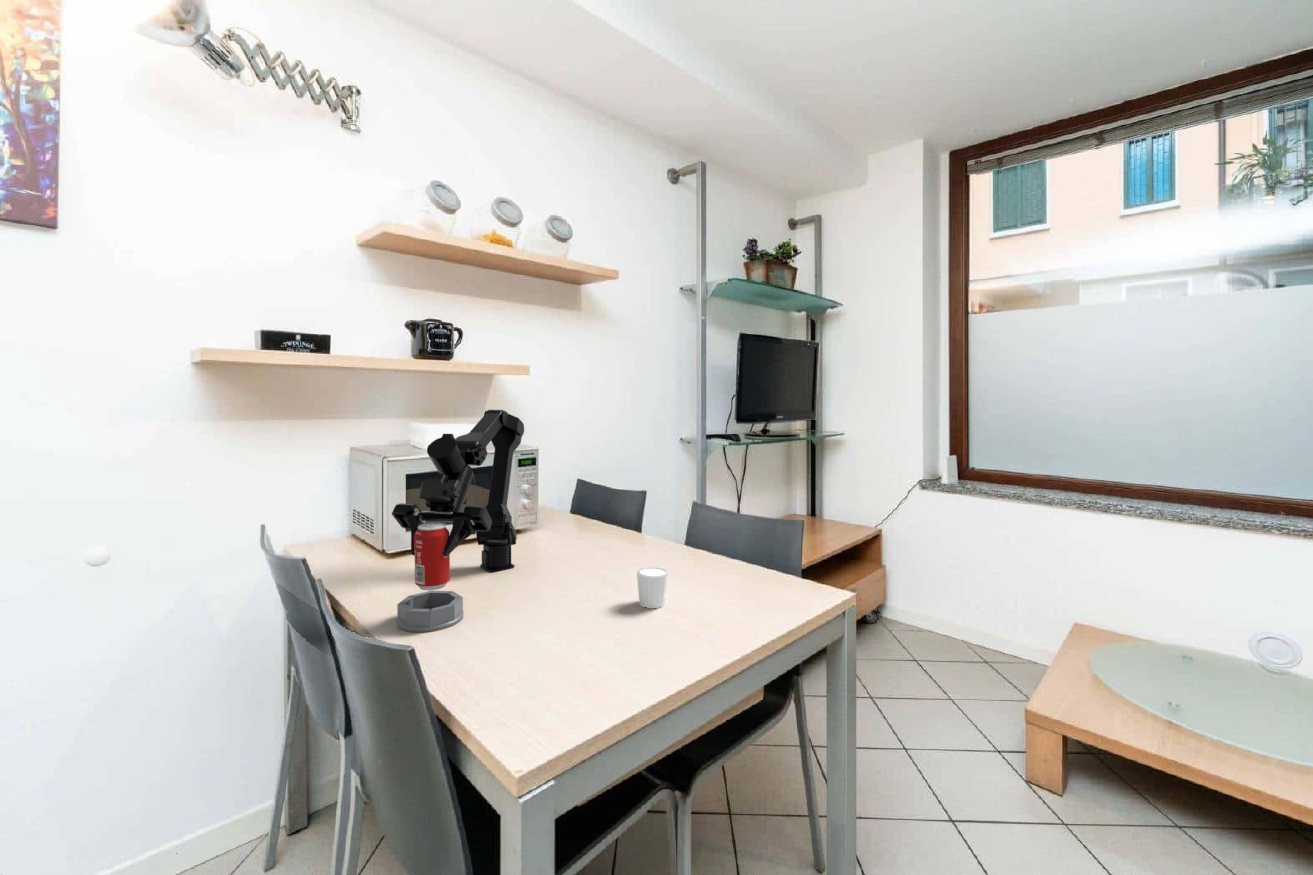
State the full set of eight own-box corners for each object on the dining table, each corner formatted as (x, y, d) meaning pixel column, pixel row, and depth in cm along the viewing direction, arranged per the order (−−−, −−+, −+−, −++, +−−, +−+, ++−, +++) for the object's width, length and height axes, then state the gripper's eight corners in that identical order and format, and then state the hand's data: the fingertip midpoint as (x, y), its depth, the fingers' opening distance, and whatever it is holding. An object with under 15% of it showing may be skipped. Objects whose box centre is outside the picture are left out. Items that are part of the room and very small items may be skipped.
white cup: (635, 598, 122) (636, 567, 121) (666, 597, 122) (667, 566, 122) (637, 610, 115) (637, 577, 114) (670, 609, 115) (670, 576, 115)
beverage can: (455, 586, 108) (454, 526, 107) (423, 594, 104) (422, 531, 103) (441, 578, 113) (440, 520, 112) (409, 585, 108) (408, 525, 107)
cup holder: (447, 603, 117) (447, 585, 117) (474, 620, 108) (473, 601, 108) (387, 618, 109) (387, 599, 108) (411, 638, 100) (411, 617, 100)
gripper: (395, 463, 111) (363, 531, 101) (485, 466, 109) (462, 535, 99) (416, 495, 119) (389, 560, 109) (500, 497, 118) (480, 564, 108)
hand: (428, 555), depth 106 cm, fingers closed on beverage can, 6 cm apart
